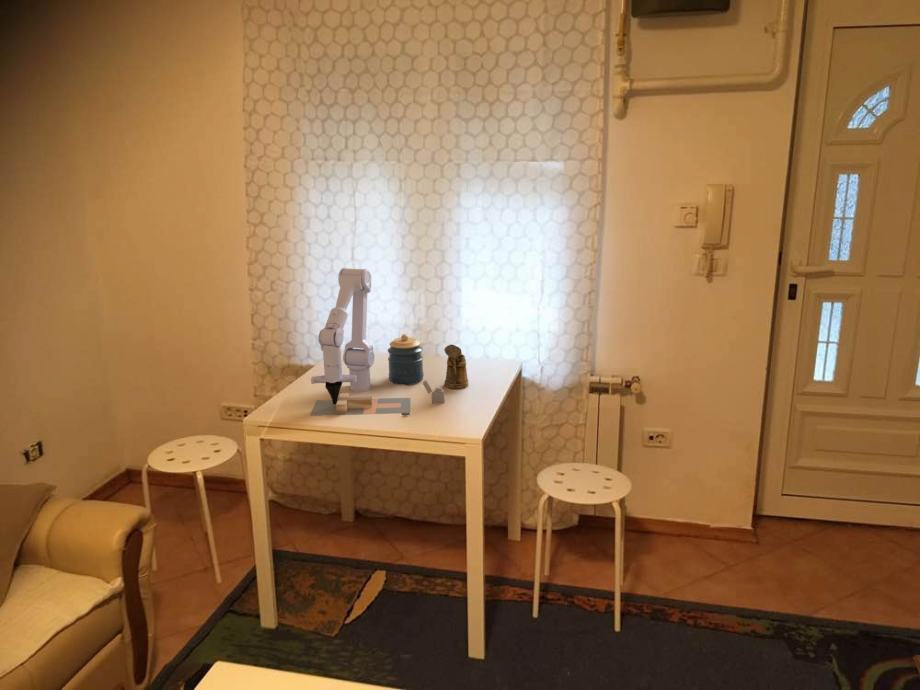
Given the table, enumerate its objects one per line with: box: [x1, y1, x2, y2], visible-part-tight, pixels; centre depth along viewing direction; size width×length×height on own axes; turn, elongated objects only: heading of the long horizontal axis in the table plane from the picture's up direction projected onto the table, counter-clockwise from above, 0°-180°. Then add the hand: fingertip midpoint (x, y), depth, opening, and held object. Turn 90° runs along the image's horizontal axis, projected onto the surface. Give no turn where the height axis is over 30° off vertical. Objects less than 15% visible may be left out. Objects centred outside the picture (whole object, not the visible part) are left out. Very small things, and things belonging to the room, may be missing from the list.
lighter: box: [422, 380, 445, 405], centre depth 234 cm, size 7×2×8 cm, turn 95°
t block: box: [336, 391, 373, 414], centre depth 229 cm, size 12×11×3 cm
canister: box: [387, 333, 425, 386], centre depth 256 cm, size 13×13×18 cm
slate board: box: [309, 397, 411, 417], centre depth 230 cm, size 14×32×1 cm, turn 93°
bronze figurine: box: [444, 344, 469, 390], centre depth 247 cm, size 9×14×18 cm, turn 170°
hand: (335, 403), depth 229 cm, fingers closed
